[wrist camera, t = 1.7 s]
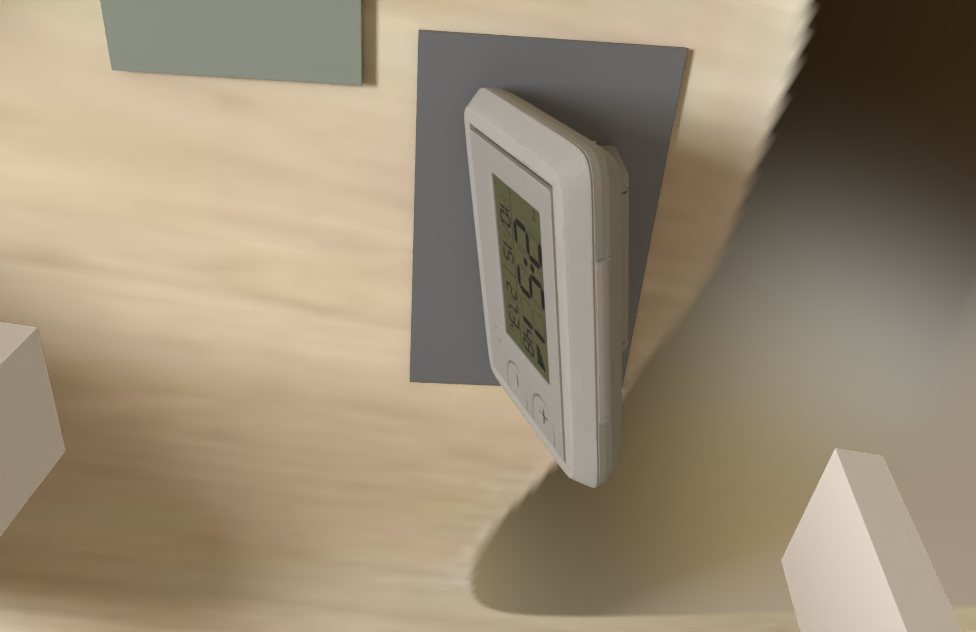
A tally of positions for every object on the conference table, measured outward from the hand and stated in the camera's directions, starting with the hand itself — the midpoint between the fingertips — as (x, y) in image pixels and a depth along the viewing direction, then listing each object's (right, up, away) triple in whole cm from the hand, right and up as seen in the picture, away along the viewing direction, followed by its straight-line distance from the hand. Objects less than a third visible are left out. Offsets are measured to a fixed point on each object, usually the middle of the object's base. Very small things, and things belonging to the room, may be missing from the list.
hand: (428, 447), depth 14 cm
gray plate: (+3, +7, +27) cm, 28 cm away
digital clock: (+3, +6, +27) cm, 28 cm away
